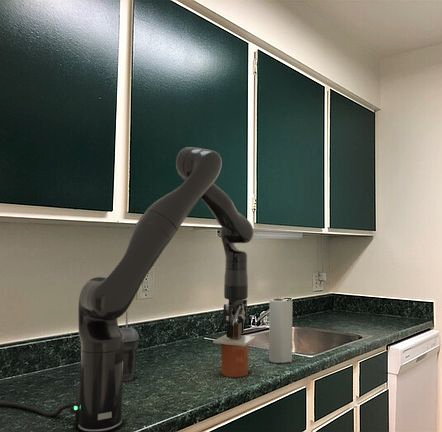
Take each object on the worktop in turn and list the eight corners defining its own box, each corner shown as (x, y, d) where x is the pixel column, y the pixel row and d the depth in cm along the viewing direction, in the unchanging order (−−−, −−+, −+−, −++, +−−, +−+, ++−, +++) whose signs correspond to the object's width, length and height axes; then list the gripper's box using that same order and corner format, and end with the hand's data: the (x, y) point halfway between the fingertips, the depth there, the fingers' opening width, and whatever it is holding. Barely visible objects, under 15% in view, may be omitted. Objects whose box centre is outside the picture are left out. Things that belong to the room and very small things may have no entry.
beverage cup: (115, 384, 131) (117, 314, 132) (111, 377, 137) (113, 310, 138) (140, 380, 134) (142, 312, 135) (135, 373, 140) (137, 309, 141)
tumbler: (216, 375, 140) (217, 342, 141) (227, 367, 148) (228, 337, 149) (242, 378, 137) (242, 345, 138) (252, 370, 145) (252, 339, 146)
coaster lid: (213, 343, 140) (213, 324, 140) (226, 336, 150) (227, 318, 150) (244, 346, 137) (245, 327, 137) (256, 339, 146) (256, 321, 147)
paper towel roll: (265, 360, 158) (266, 299, 159) (278, 357, 161) (278, 297, 162) (278, 365, 152) (279, 301, 153) (292, 362, 156) (292, 300, 157)
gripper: (233, 281, 152) (233, 329, 151) (216, 285, 139) (215, 338, 138) (254, 282, 150) (254, 331, 149) (238, 286, 136) (237, 340, 135)
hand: (235, 334), depth 143 cm, fingers open, 8 cm apart
